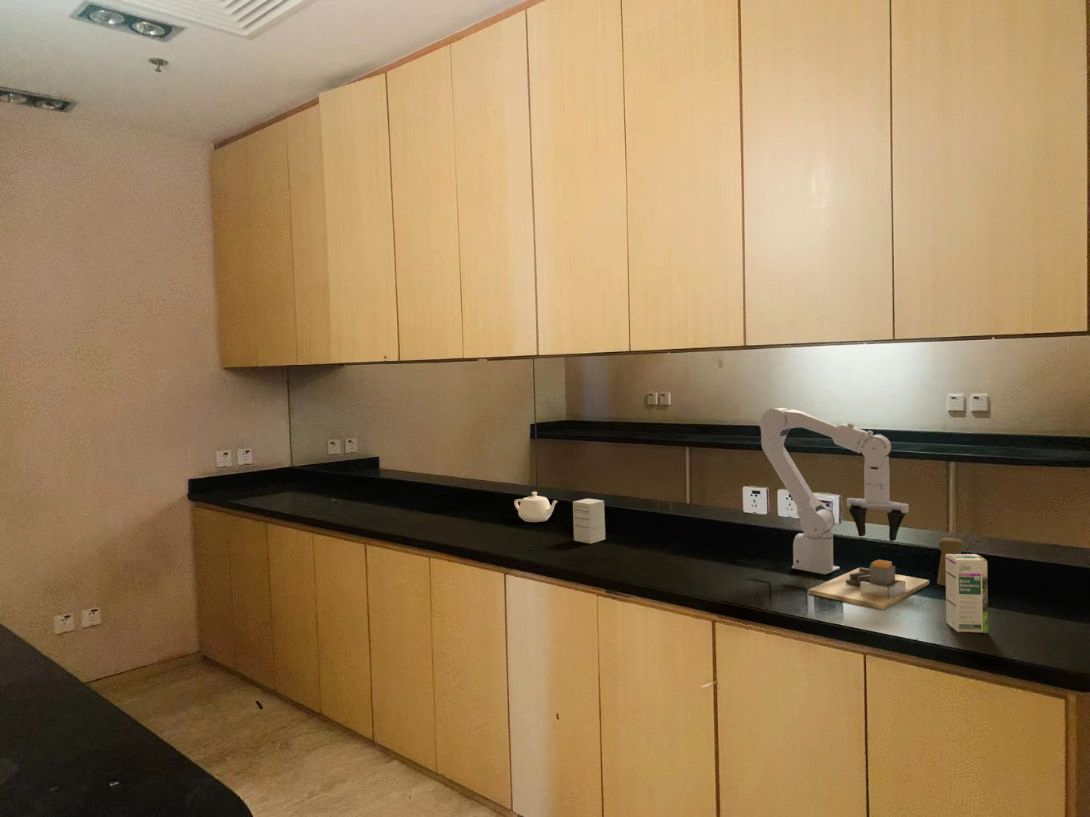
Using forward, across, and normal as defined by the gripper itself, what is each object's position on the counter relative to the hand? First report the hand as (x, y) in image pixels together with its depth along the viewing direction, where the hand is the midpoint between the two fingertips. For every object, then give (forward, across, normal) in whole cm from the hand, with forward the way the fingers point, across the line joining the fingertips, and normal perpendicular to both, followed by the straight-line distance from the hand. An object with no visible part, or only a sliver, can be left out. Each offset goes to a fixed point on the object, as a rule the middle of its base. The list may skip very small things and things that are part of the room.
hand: (877, 537), depth 182 cm
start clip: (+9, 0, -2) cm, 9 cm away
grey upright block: (+9, +8, -15) cm, 19 cm away
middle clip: (+9, +1, -11) cm, 14 cm away
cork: (+10, +15, +6) cm, 19 cm away
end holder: (+9, +8, -15) cm, 19 cm away
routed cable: (+9, +2, -10) cm, 14 cm away
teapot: (+10, -121, -7) cm, 122 cm away
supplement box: (+10, -83, -18) cm, 86 cm away
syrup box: (+10, +28, -24) cm, 38 cm away
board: (+10, +3, -11) cm, 15 cm away
